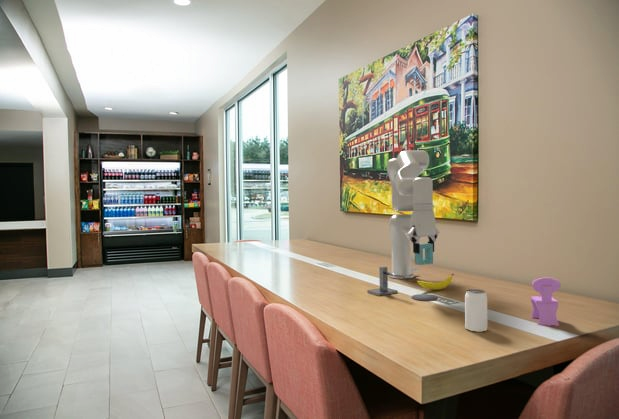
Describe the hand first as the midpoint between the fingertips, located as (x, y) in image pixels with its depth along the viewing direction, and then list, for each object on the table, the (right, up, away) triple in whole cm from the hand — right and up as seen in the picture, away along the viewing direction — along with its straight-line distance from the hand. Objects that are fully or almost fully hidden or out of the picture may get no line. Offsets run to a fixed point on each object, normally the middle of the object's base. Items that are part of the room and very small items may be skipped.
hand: (423, 252), depth 178 cm
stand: (-12, -19, +8) cm, 24 cm away
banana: (+9, -18, +15) cm, 25 cm away
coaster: (0, -19, +1) cm, 19 cm away
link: (0, -5, 0) cm, 5 cm away
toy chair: (+31, -20, -34) cm, 50 cm away
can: (+6, -20, -41) cm, 46 cm away
